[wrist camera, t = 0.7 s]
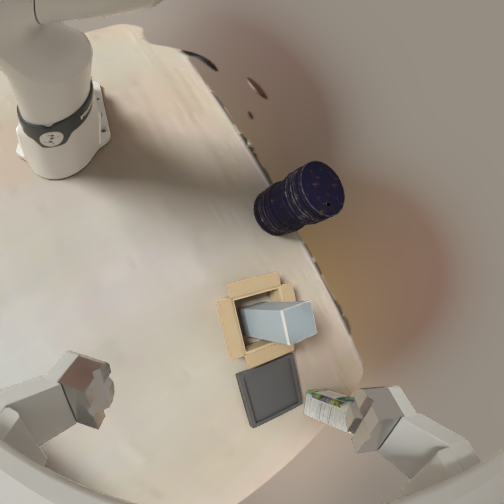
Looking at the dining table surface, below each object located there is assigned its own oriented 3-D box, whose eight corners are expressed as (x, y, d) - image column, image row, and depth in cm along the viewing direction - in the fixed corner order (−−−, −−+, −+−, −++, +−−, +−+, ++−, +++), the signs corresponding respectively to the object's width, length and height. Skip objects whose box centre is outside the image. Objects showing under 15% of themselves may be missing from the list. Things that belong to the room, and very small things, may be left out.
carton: (205, 287, 47) (213, 286, 43) (277, 270, 54) (288, 268, 51) (226, 369, 46) (235, 374, 42) (293, 343, 53) (305, 345, 50)
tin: (237, 308, 49) (282, 310, 37) (261, 301, 51) (310, 300, 39) (244, 335, 48) (290, 345, 36) (267, 327, 51) (317, 333, 39)
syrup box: (325, 388, 55) (375, 401, 43) (322, 411, 54) (370, 428, 41) (306, 390, 53) (356, 407, 40) (302, 415, 51) (351, 435, 39)
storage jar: (249, 189, 54) (293, 157, 41) (288, 189, 59) (336, 162, 46) (258, 238, 53) (308, 218, 40) (298, 234, 58) (350, 216, 45)
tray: (235, 374, 46) (238, 375, 45) (288, 352, 52) (292, 353, 51) (250, 426, 46) (253, 428, 45) (299, 402, 52) (302, 403, 50)
